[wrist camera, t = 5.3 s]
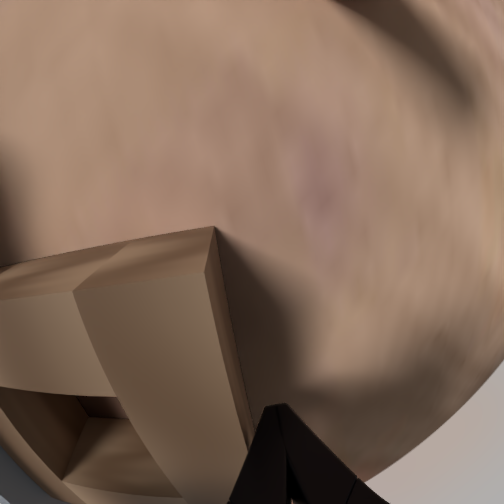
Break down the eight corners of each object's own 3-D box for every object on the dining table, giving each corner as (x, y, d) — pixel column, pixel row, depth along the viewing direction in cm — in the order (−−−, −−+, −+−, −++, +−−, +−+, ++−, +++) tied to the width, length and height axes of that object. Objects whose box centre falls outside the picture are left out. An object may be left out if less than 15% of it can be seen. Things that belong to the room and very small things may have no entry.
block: (214, 225, 8) (204, 272, 5) (257, 444, 11) (268, 516, 7) (-16, 271, 8) (-78, 309, 4) (73, 443, 11) (51, 497, 7)
